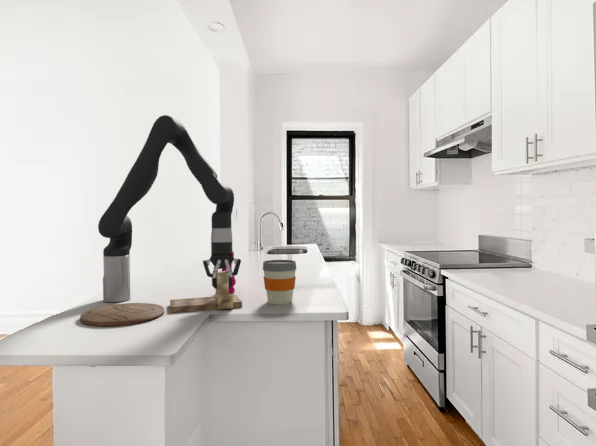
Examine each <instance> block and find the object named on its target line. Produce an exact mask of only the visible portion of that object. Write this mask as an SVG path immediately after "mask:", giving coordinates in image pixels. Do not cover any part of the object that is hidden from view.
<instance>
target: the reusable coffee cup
mask: <svg viewBox="0 0 596 446" xmlns="http://www.w3.org/2000/svg"><path fill="white" fill-rule="evenodd" d="M296 270H297V263H296V260H293V259H271V260H269V259H268V260H264V261H263V263H262V271H263V274H264V276H263V285H264V289H265V291H266V296H267V298H266V299H267V303H268V304H270V305H288V304H290V303H292V301H293V295H294V294H293V293H294V289H295V286H296V278H297V277H296Z"/></svg>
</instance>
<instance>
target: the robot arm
mask: <svg viewBox="0 0 596 446" xmlns="http://www.w3.org/2000/svg"><path fill="white" fill-rule="evenodd" d="M193 141H194V140H192V138H191V136H190V134H189V133H188V131H187V129H186V126H185V125H184V124H183V122H181V121H180V120H178V119H177V118H174V117H172V116H170V115H166V114H165V115H160V116H159V117H158V118H156V120H155V121H154V123H153V125H152V127H151V129H150V132H149V133H148V135H147V138H146V141H145V143H144V145H143V147H142V149H141V151H140V153H139V155H138V156H137V158H136V160H135V162H134V163H133V165H132V166H131V168H130V170H129V172H128V174H127V176H126V178H125V179H124V181H123V184H122V185H121V187H120V188H119V190H118V192H117V193H116V195H115V197H114V199H113V201H112V202H111V203H110V205H109V206H108V207H107V209H106V210H105V211H104V213H103V214H102V216H101V217H100V219H99V221H98V224H97V225H98V227H97V228H98V229H97V230H98V233H99V234H100V236H102V237H103V238H106V239H107V238H108V239H109V243H107V245H106V246H105V247H104V248H103V251H102V252H103V253H102V254H103V255H102V256H103V277H102V298H103V303H119V302H120V303H121V302H127V301H129V300H130V299H131V261H130V260H131V258H130V257H131V254H130V250H131V248H132V246H133V224H132V220H131V218H130V217H129V216H128V214H129V212H130V210H131V209H132V208H133V207H134V206H135V205H136V204H138V202H140V201H141V200H142V199H143V198H144V197H145V196H146V195H147V194H148V192H149V191H151V190H150V189H151V188H152V186H153V185H154V183H155V181H156V179H157V176H158V173H159V165H160V158H161V156H162V153H163V151H164V149H165V148H166V146H167V145H168V144H171V145H172V146H173V147H175V148H176V150H178V152H179V153H180V154H181V156H182V157H183V158H184V161H185V162H186V165H187V168H188V169H189V171H190V172H191V174H192V175H193V177H194V178H195V179H196V181H197V182H198V183H199V184H200V186H201V188H202V190H203V192H204V195H205V196H206V198H207V199H208V200H209V202H211V203H212V204H214V205H215V211H214V212H213V213H212V215H211V232H210V233H211V234H210V245H211V246H210V249H211V251H210V253H211V254H210V257H209V258H208V259H203V260H202V264H203V267H204V270H205V273H206V275H207V277H208V278H211V286H212V288H214V289H215V290H216V288H217V283H216V275H217V272H218V271H219V270H222V268H223V269H226V270H227V272H228V273H229V288H230V287H231V286H232V277H233V276H234V277H235V276H238V273H239V270H240V267H241V266H240V265H241V262H242V260H241V259H240V258H235V257H233V255H232V251H233V230H232V215H233V209H234V204H235V195H234V191H233V189H232V188H231V187H230V186H228V185H224V184H222V183H221V182H220V181H219V179H218V175H217V172H216V171H215V170H214V169H213V166H211V164H209V161H207V160H206V158H205V157H204V156H203V154H202V153H201V152H200V150H199V149H198V148H197V146H196V144H195V143H194V142H193ZM232 262H233V263H234V268H233V270H232V272H231V269H230V265H231V263H232ZM210 263H212V266H213V270H212V273H211V270H210V268H209V266H210ZM233 263H232V264H233Z"/></svg>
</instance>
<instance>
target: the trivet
mask: <svg viewBox="0 0 596 446" xmlns="http://www.w3.org/2000/svg"><path fill="white" fill-rule="evenodd" d="M164 314H165V308H164V306H163V305H161V304H156V303H149V302H133V303H132V302H126V303H116V304H108V305H104V306H99V307H96V308H91V309H89V310H86V311H84V312H82V313H81V314H80V317H79V320H80V323H81V324H82V325H84V326H86V327H87V326H88V327H96V328H115V327H126V326H134V325H138V324H139V325H140V324H144V323H148V322H153V321H155V320H157V319H159V318H161V317H163V316H164Z"/></svg>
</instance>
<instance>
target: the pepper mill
mask: <svg viewBox="0 0 596 446" xmlns="http://www.w3.org/2000/svg"><path fill="white" fill-rule="evenodd" d="M232 255H233V257H234V256H235V254H234V251H233V250H232ZM234 258H235V257H234ZM233 263H234V261H233V262H232V263H231V265H230V269H231V272H233V269H232V265H233ZM221 271H227V270H226V269H223V268H222V269H221ZM236 281H237V280H236V277H235V276H233V277H232V286H231V287H230V288H229V294H232V295H233V294H234V293H235V291H236V290H235V289H236V288H235V285H236V283H237V282H236Z"/></svg>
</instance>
